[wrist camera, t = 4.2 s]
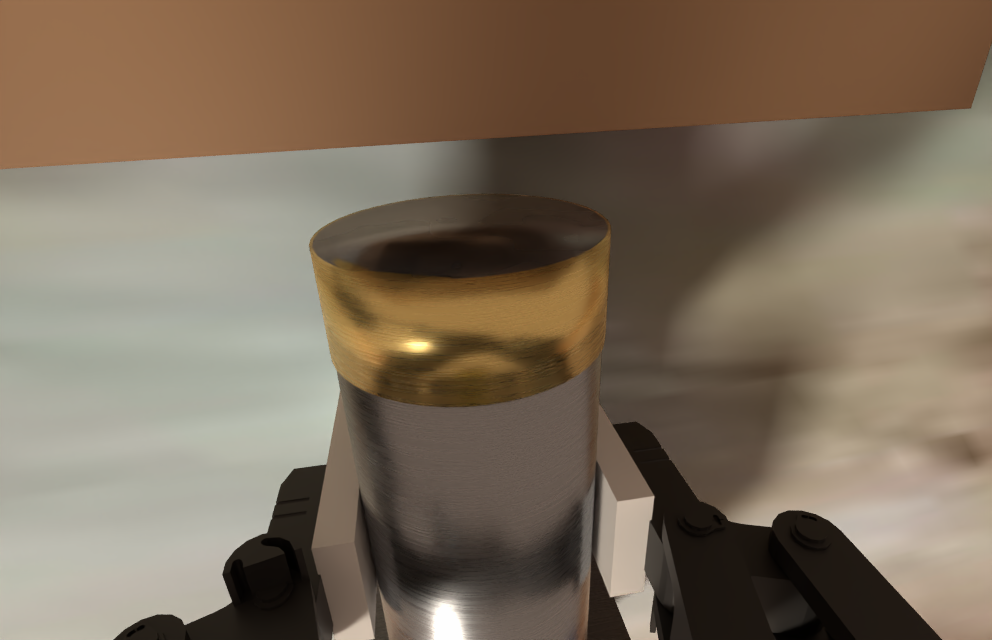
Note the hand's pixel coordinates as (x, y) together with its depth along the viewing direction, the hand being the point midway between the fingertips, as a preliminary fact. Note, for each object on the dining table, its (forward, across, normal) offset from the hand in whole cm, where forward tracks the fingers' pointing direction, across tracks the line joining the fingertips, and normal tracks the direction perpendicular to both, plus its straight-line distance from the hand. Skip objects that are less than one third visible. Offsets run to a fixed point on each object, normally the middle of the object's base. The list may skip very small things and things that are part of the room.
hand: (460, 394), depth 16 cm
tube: (-2, 0, -3) cm, 4 cm away
